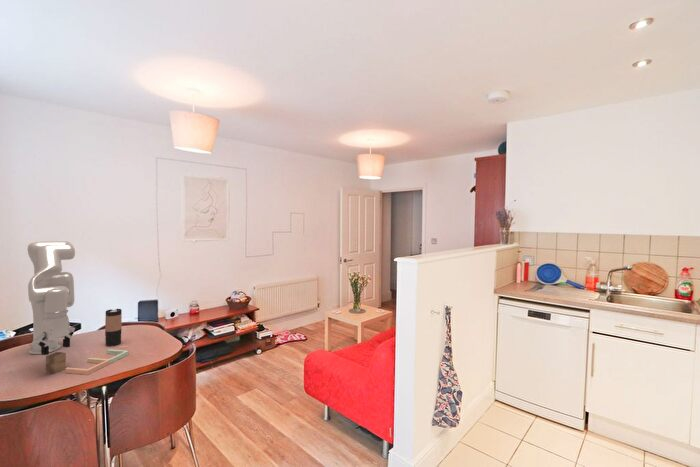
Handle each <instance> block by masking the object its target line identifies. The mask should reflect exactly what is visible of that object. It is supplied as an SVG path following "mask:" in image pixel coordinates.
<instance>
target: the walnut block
mask: <svg viewBox="0 0 700 467" xmlns="http://www.w3.org/2000/svg"><path fill="white" fill-rule="evenodd" d="M66 357H67V353H66V352H62V351H56V352H55V351H54V352H53V353H49V354H48V355H45V374H53V375H54V374H55V375H56V374H57V373H60V372H62V371H65V368H67V367H66V366H67V360H66V359H67V358H66Z"/></svg>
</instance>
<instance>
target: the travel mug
mask: <svg viewBox="0 0 700 467" xmlns="http://www.w3.org/2000/svg"><path fill="white" fill-rule="evenodd" d="M122 312H123V311H122V309H121V308H116V309H107V310H105V321H104V322H105V323H104V324H105V326H104V328H105V329H104V330H105V332H104V334H105V335H104V336H105V337H104V338H105V339H104V340H105V346H106V347H116V346H119V345H120V344H121V343H122V326H123V325H122V317H123V316H122Z"/></svg>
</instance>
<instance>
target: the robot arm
mask: <svg viewBox="0 0 700 467" xmlns="http://www.w3.org/2000/svg"><path fill="white" fill-rule="evenodd" d="M27 255H28V257H29V259H30V260H31V262H32V264H33V269H34V270H33V272H34V273H33V276H32V277H31V278H30V280H29V281H28V285H27V293H28V296H27V297H28V300H29V302H30V304H31V310H32V317H33V320H32V321H33V322H32V324H33V325H32V326H33V327H32V329H33V330H32V331H33V334H32V335H33V336H32V337H33V338H32V342H31V343H28V346H29V347H31V349H29V351H28V353H29V354H30V355H43V356H47V355H50V353H51V352H55V351H57V350H59V349H61V348H62V347H63V348H70V347H71V339H72V336H73V335H74V333H75V330H76V327H75V326H70V320H69V316H68V315H67V314H68V313H69V310H68V308H71V307H73V306H74V304H75V282H74V277H73V274H72V273H71V272H69V271H62V270H63V266H62V261H65V260H73V259H74V258H75V256H76V251H75V247H74V245H73V244H72V243H71V242H69V241H61V240H60V241H57V240H55V241H35V242H31V243H29V244H28V245H27ZM59 339H62V345H61V344H60V343H58V340H59Z"/></svg>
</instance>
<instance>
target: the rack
mask: <svg viewBox="0 0 700 467" xmlns="http://www.w3.org/2000/svg"><path fill="white" fill-rule="evenodd" d="M129 352H130V351H129V350H122V349H111V348H107V350H106V354H107V355H115V356H113V357H110V358H97V357H96V358H95V357H89V358H88V357H87V359H86V362H87V364H96V365H94V366H92V367H89V368H88V369H87V368H78V367H77V368H76V367H75V368H74V367H66V368H65V370H64V373H65V374H73V375H84V376H85V375H87V376H88V375H90V374H92V373H94V372H96V371H99V370H100V369H102V368H104V367H106V366H108V365H111V364H113V363H114V362H116V361H119V360H120V359H122V358H124V357H126V356H128V355H129V354H130V353H129ZM129 356H130V355H129Z"/></svg>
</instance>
